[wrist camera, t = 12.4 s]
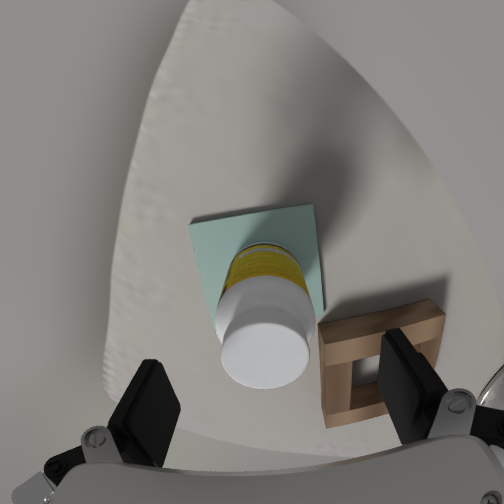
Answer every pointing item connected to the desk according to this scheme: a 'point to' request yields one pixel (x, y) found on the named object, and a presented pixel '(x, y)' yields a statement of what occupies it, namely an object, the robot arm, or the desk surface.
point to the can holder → (366, 345)
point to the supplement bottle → (265, 317)
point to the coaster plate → (253, 231)
